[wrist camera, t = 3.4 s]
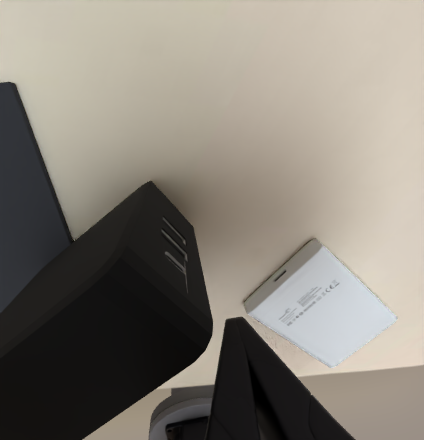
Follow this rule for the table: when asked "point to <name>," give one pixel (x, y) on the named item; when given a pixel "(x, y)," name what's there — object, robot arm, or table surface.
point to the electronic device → (103, 322)
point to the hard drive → (320, 306)
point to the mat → (24, 202)
